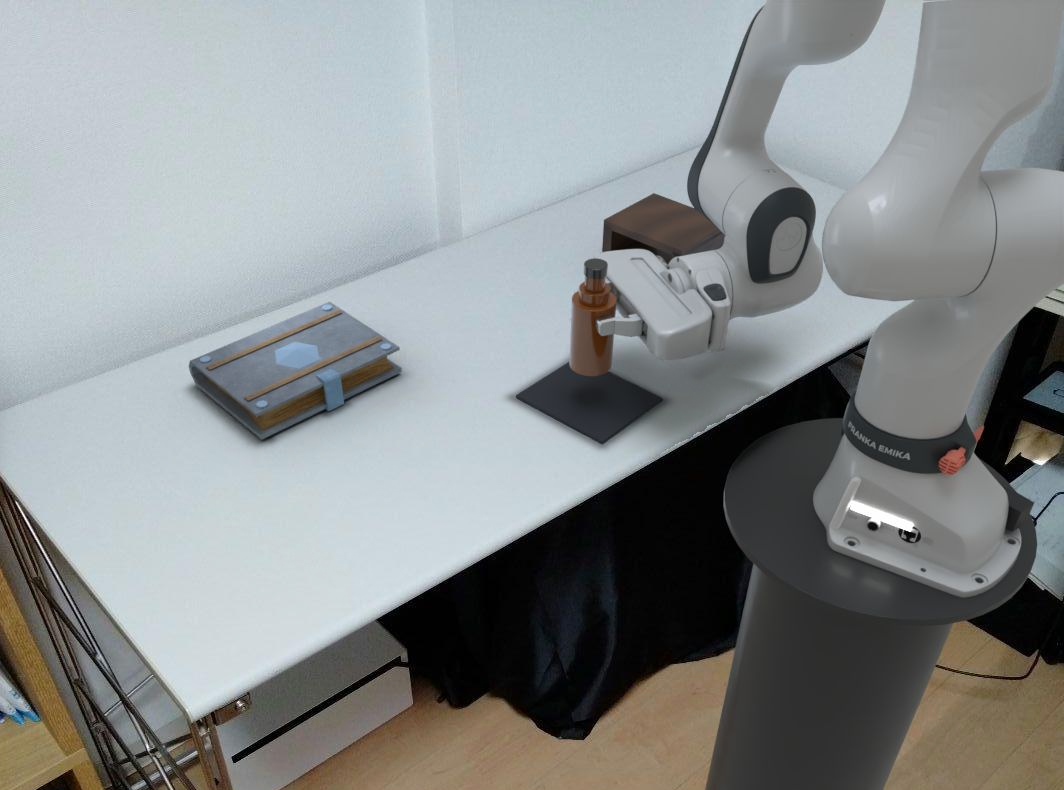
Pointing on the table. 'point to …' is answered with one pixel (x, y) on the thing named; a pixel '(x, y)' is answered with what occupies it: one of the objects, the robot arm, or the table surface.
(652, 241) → the shelf
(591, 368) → the bottle
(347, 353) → the book
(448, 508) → the table surface
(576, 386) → the mat
